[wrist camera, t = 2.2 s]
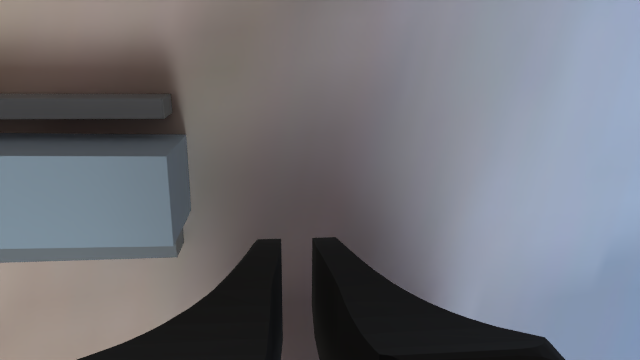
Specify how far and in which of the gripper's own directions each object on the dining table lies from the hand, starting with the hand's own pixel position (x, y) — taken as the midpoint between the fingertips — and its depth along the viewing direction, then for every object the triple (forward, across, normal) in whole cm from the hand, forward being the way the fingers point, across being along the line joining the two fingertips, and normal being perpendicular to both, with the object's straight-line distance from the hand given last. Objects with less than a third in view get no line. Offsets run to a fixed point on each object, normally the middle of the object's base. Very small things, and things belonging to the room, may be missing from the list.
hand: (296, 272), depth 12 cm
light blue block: (+10, +10, 0) cm, 14 cm away
